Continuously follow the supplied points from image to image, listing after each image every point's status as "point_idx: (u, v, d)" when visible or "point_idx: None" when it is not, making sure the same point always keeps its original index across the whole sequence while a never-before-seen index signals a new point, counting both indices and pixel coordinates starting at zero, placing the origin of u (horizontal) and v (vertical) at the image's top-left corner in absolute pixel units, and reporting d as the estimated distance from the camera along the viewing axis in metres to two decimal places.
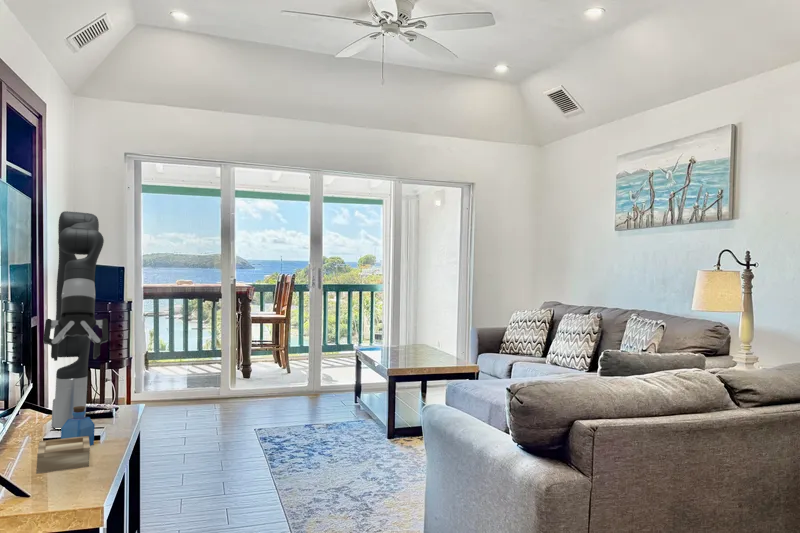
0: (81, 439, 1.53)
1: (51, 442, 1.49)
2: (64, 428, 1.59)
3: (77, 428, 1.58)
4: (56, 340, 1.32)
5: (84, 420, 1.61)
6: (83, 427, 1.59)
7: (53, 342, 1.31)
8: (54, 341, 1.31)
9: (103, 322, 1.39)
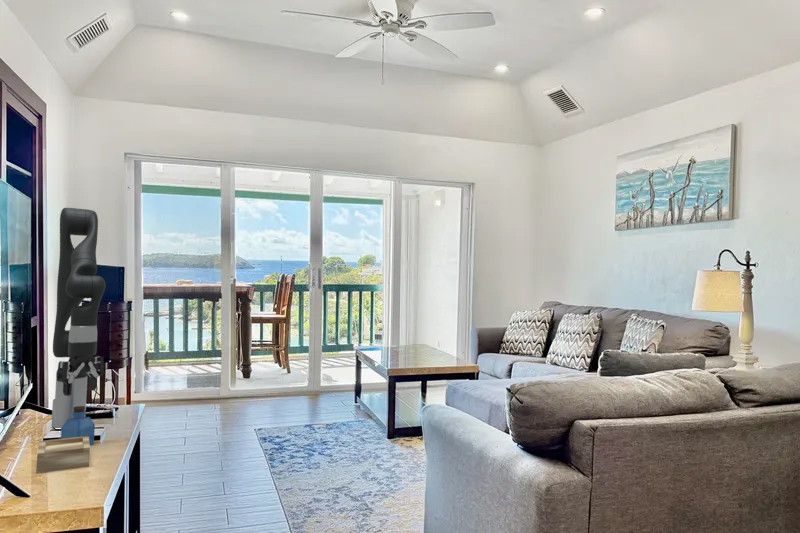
0: (81, 439, 1.53)
1: (51, 442, 1.49)
2: (64, 428, 1.59)
3: (77, 428, 1.58)
4: (71, 380, 1.57)
5: (84, 420, 1.61)
6: (83, 427, 1.59)
7: (69, 382, 1.57)
8: (70, 381, 1.57)
9: (100, 360, 1.67)
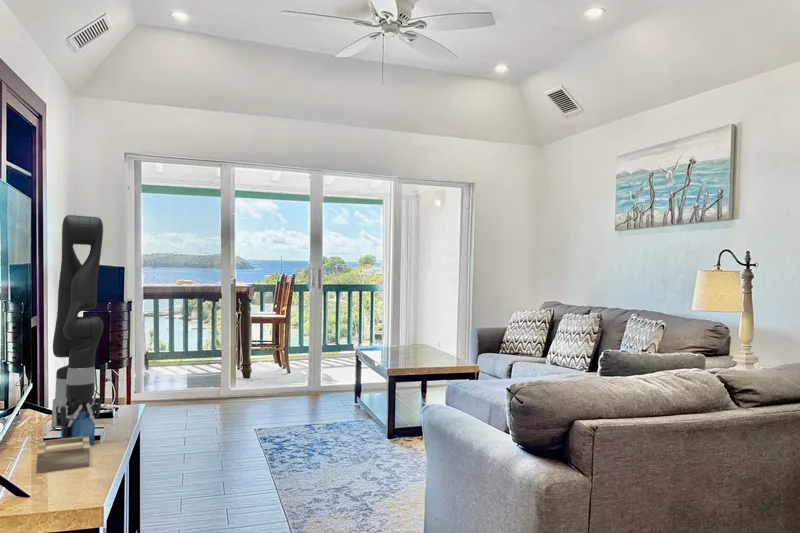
0: (81, 439, 1.53)
1: (51, 442, 1.49)
2: None
3: (77, 428, 1.58)
4: (71, 423, 1.58)
5: (84, 420, 1.61)
6: (83, 427, 1.59)
7: (69, 426, 1.57)
8: (70, 425, 1.57)
9: (98, 401, 1.67)
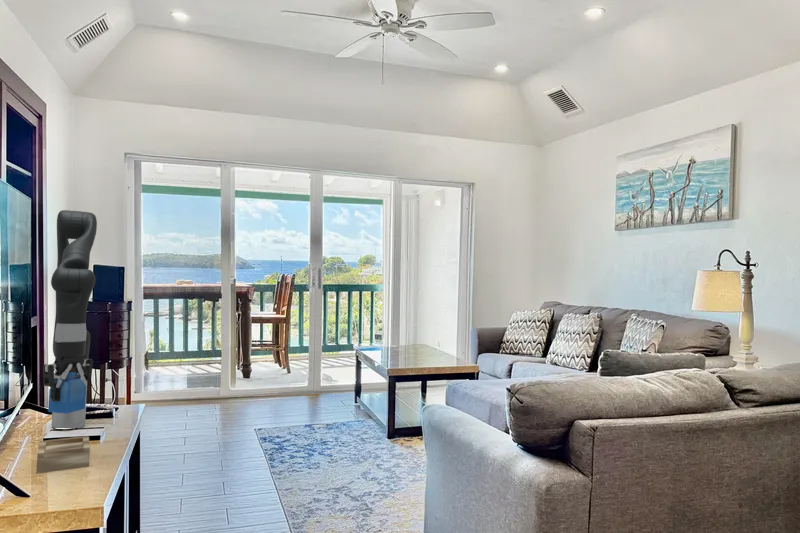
0: (81, 439, 1.53)
1: (51, 442, 1.49)
2: None
3: (66, 389, 1.44)
4: (59, 384, 1.44)
5: (74, 381, 1.47)
6: (73, 388, 1.46)
7: (57, 386, 1.43)
8: (58, 385, 1.43)
9: (89, 362, 1.53)
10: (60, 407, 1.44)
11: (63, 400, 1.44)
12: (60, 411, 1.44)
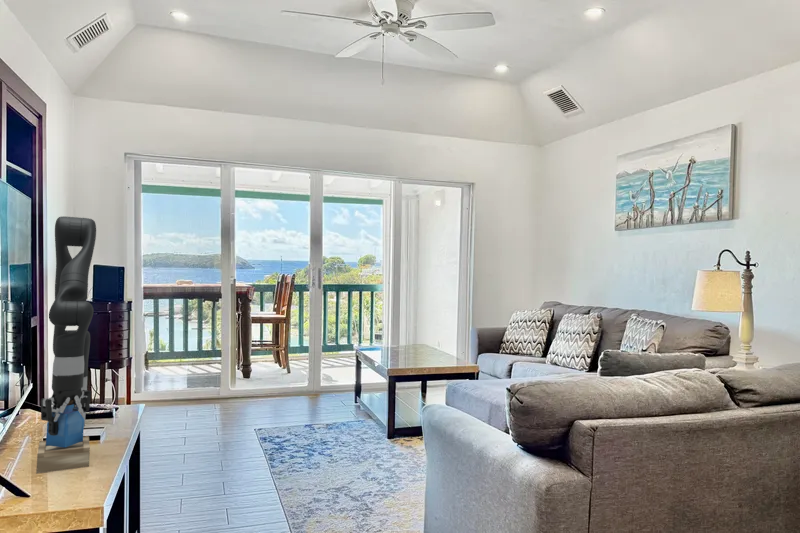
0: None
1: None
2: None
3: (64, 423, 1.44)
4: (57, 418, 1.44)
5: (72, 414, 1.47)
6: (71, 421, 1.45)
7: (55, 420, 1.43)
8: (56, 419, 1.43)
9: (87, 394, 1.53)
10: (58, 441, 1.44)
11: (61, 434, 1.44)
12: (58, 445, 1.44)
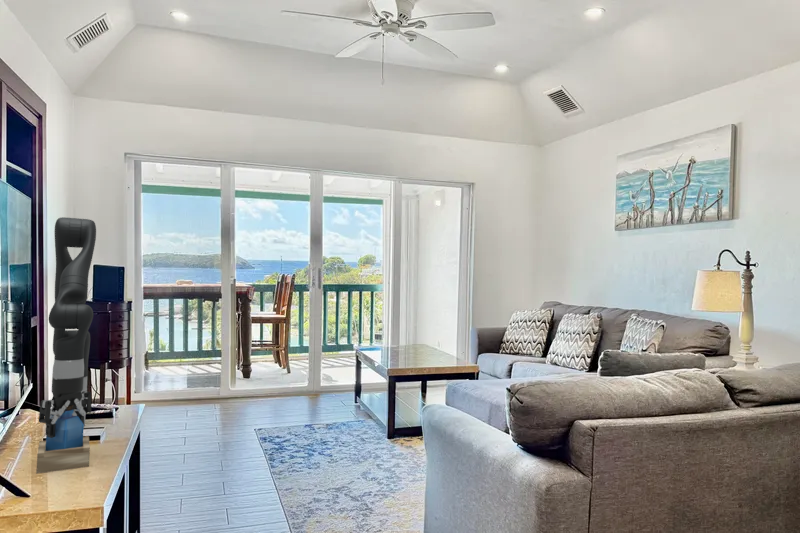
0: None
1: None
2: None
3: (63, 429, 1.44)
4: (55, 420, 1.43)
5: (72, 420, 1.47)
6: (70, 427, 1.45)
7: (52, 422, 1.42)
8: (53, 421, 1.43)
9: (88, 396, 1.53)
10: (58, 446, 1.44)
11: (60, 439, 1.44)
12: None
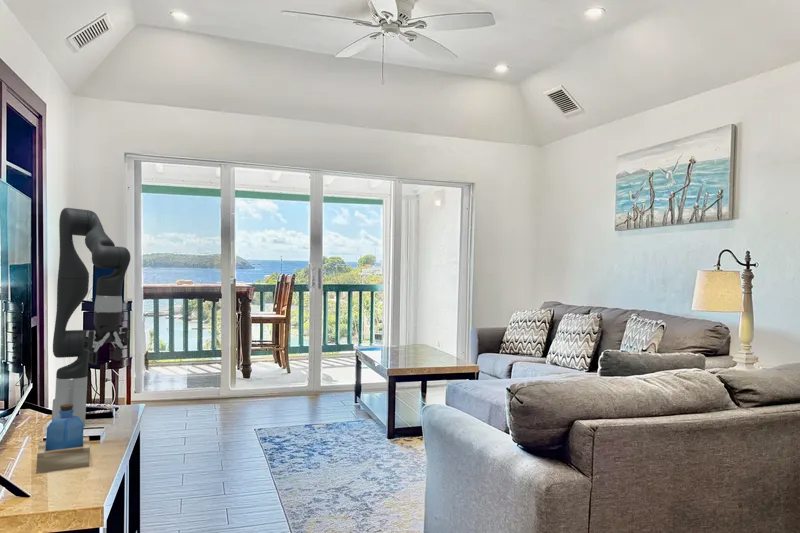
0: None
1: None
2: (50, 428, 1.45)
3: (63, 429, 1.44)
4: (96, 349, 1.59)
5: (72, 420, 1.47)
6: (70, 427, 1.45)
7: (95, 351, 1.58)
8: (95, 350, 1.58)
9: (125, 330, 1.68)
10: (58, 446, 1.44)
11: (60, 439, 1.44)
12: None
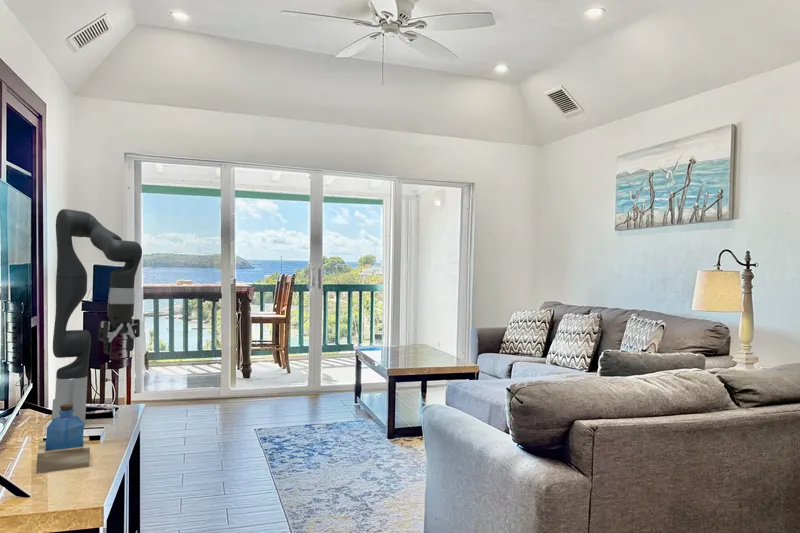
0: None
1: None
2: (50, 428, 1.45)
3: (63, 429, 1.44)
4: (111, 339, 1.65)
5: (72, 420, 1.47)
6: (70, 427, 1.45)
7: (109, 341, 1.64)
8: (110, 340, 1.64)
9: (137, 322, 1.75)
10: (58, 446, 1.44)
11: (60, 439, 1.44)
12: None
